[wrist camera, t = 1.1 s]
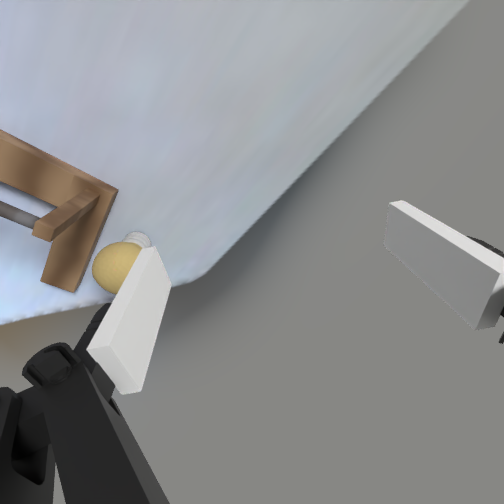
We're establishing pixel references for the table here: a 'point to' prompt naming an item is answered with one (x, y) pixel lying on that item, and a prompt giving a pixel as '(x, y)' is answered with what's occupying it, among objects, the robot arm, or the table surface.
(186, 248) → the table surface
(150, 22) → the table surface
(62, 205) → the wooden rack frame
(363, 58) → the table surface
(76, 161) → the table surface
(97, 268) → the light bulb
